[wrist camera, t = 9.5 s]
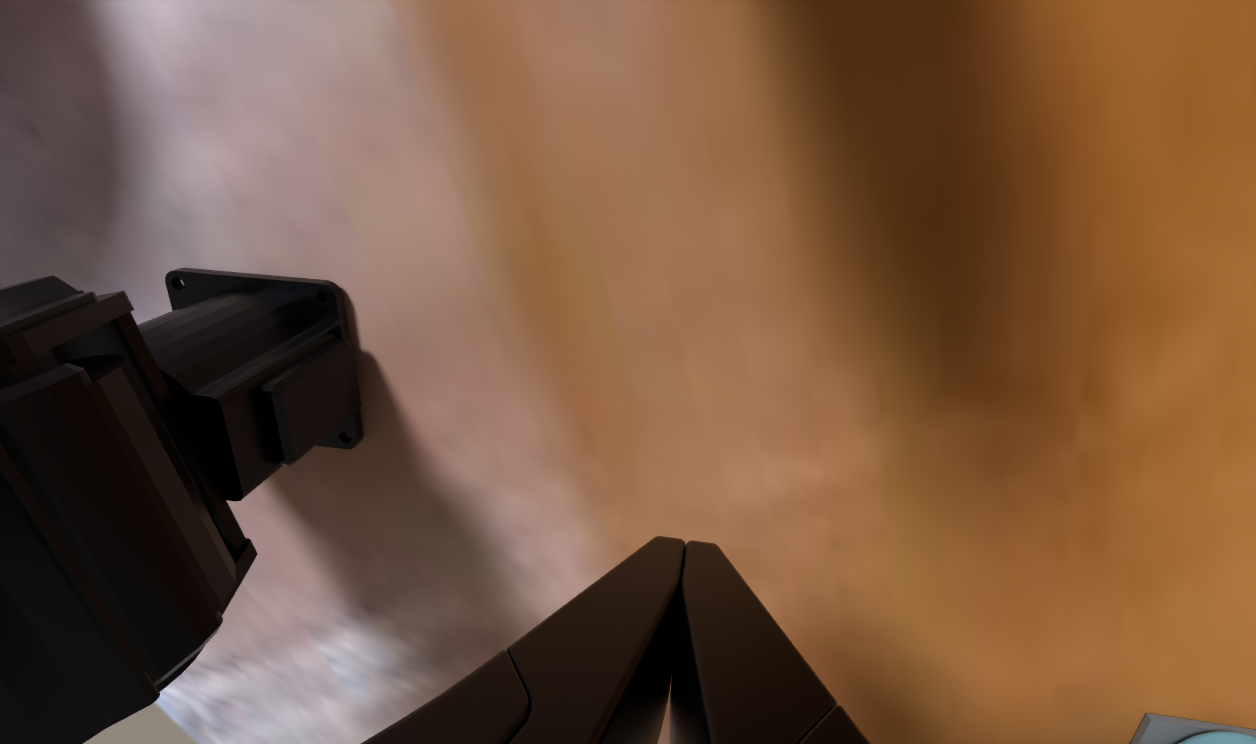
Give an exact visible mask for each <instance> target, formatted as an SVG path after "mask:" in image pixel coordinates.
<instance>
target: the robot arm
mask: <svg viewBox="0 0 1256 744" xmlns="http://www.w3.org/2000/svg"><path fill="white" fill-rule="evenodd" d="M181 280H182V281H183V282H184V284H185V286H183V285H182V283H181ZM165 282H166V287H167V291H168V294H169V298H170V302H171V306H172V310H173V311H172V312H169V313H167V314H164V315H162V316H159V317H157V318H154V319H152V320H149V321H147V322H144V323H142V324H139V325H137V324H136V322H135V320H134V318H133V316H132V314H131V312H130V311H132V310H134V309H133V307H132V305H131V303H130V301H129V299H128V297H127V295H126V293H125V291H119V292H114V293H109V294H104V295H98V296H96V295H95V293H94V292H86V293H84V292H83V290H82V291H77V290H76V289H74V288H73V287H71V286H69V285H68V284H66V283H65V282H63V281H61V280H60V279H58V278H57V277H55V276H49V277H44V278H39V279H34V280H31V281H27V282H23V283H20V284H16V285H12V286H9V287H5V288H1V289H0V744H83V743H84V742H86V741H87V740H89V739H90V738H92V737H93V736H95V735H96V734H98V733H99V732H101V731H102V730H104V729H106V728H107V727H110V726H111V725H113V724H115V723H117V722H119V721H121V720H123V719H125V718H127V717H128V716H130V715H132V714H134V713H136V712H138V711H140V710H142V709H143V708H145V707H147V706H149V705H151V704H152V703H154V702H155V701H156V700H157V699H158V697H159V696H160V693H159V692H160V691H161V690H163V689H164V688H165V687H166V686H168V685H169V684H170V683H171V682H172V681H174V680H175V679H176V678H177V677H178V676H179V675H181V674H182V673H183V672H184V671H185V670H186V669H187V667H188V666H189V665H190V664H191V663H192V662H193V661H194V660H195V659H196V657H197V656H198V655H199V653H200V652H201V650H202V649H203V648H204V646H205V644H206V643H207V642H208V641H209V640H210V639H211V638H212V637H213V636H214V635H215V634H216V633H217V631H218V629H219V627H220V626H221V624H222V622H223V617H222V615H223V613H224V612H225V610H226V608H227V606H228V605H229V603H230V601H231V599H232V598H233V596H234V594H235V592H236V591H237V589H238V587H239V586H240V584H241V582H242V580H243V579H244V577H245V575H246V573H247V572H248V570H249V568H250V566H251V565H252V563H253V561H254V560H255V558H256V556H257V552H256V550H255V548H254V546H253V544H252V542H251V540H250V539H246V538H245V536H244V534H243V532H242V530H241V528H240V526H239V524H238V522H237V520H236V518H235V516H234V514H233V512H232V511H231V509H230V507H229V505H228V503H227V501H226V500H230V501H241V500H242V499H243V498H244V497H245V496H247V495H248V494H249V493H250V492H251V491H253V490H254V489H255V488H256V487H258V486H259V485H260V484H261V483H262V482H264V481H265V480H266V479H267V478H268V477H270V476H271V475H272V474H273V473H274V472H276V471H277V470H278V469H279V468H280V467H282V466H283V465H287V466H290V465H293V464H294V463H295V462H296V461H297V460H299V459H300V458H301V457H302V456H303V455H305V454H306V453H307V452H308V451H309V450H310V449H312V448H313V447H314V446H315V445H317V446H325V447H333V448H341V449H352V448H354V447H356V446H357V445H358V444H359V443H360V442H361V441H362V439H363V429H362V423H361V416H360V409H359V408H360V406H361V402H360V395H359V388H358V382H357V375H356V368H355V361H354V354H353V348H352V345H351V344H350V341H349V335H348V328H347V321H346V314H345V308H344V301H343V295H342V292H341V290H340V288H339V287H338V286H337V285H336V284H335V283H333V282H331V281H328V280H317V279H306V278H294V277H283V276H271V275H260V274H248V273H237V272H226V271H214V270H203V269H191V268H179V269H176V270H173V271H170V272H169V273H167V275H166V277H165ZM323 291H324V292H326V293H327V294H328V296H329V298H330V300H329V301H328V300H326V299H325V298H324V296H323V294H322V293H323ZM345 432H346V433H348V434H349V435H350V436H351V438H349V437H348V436H347V435H346V434H345ZM685 547H686V549H685ZM672 668H673V669H672ZM671 677H672V680H671ZM670 685H671V692H670V744H871V743H870V742H869V741H868V739H867V738H866V737H865V736H864V735H863V733H862V732H861V731H860V730H859V728H858V727H857V726H856V724H855V723H854V722H853V720H852V719H851V718H850V717H849V715H848V714H847V713H846V711H845V710H844V709H843V707H842V706H840V705H838V704H837V701H836V700H835V699H834V697H833V696H832V695H831V693H830V692H829V691H828V689H827V688H826V687H825V686H824V684H823V683H822V682H821V680H820V679H819V678H818V676H817V675H816V674H815V672H814V671H813V670H812V668H811V667H810V666H809V665H808V663H807V662H806V661H805V659H804V658H803V657H802V655H801V654H800V653H799V651H798V650H797V649H796V648H795V646H794V645H793V644H792V642H791V641H790V640H789V638H788V637H787V636H786V634H785V633H784V632H783V630H782V629H781V628H780V627H779V625H778V624H777V623H776V621H775V620H774V619H773V617H772V616H771V615H770V613H769V612H768V611H767V609H766V608H765V607H764V606H763V604H762V603H761V602H760V600H759V599H758V598H757V596H756V595H755V594H754V592H753V591H752V590H751V589H750V587H749V586H748V585H747V583H746V582H745V581H744V579H743V578H742V577H741V575H740V574H739V573H738V571H737V570H736V569H735V568H734V566H733V565H732V564H731V562H730V561H729V560H728V558H727V557H726V556H725V554H724V553H723V552H722V550H721V549H720V548H719V547H718V546H717V545H716V544H714V543H707V542H700V541H689V542H688V543H687V544H685V542H684V541H683V540H682V539H677V538H670V537H663V536H657V537H655V538H653V539H652V540H650V541H649V542H648V543H646V544H645V545H644V546H642V547H641V548H640V549H638V550H637V551H636V552H634V553H633V554H632V555H630V556H629V557H628V558H626V559H625V560H624V561H622V562H621V563H620V564H618V565H617V566H616V567H615V568H613V569H612V570H611V571H609V572H608V573H607V574H605V575H604V576H603V577H601V578H600V579H599V580H597V581H596V582H595V583H593V584H592V585H591V586H589V587H588V588H587V589H585V590H584V591H583V592H581V593H580V594H579V595H577V596H576V597H575V598H573V599H572V600H571V601H569V602H568V603H567V604H565V605H564V606H563V607H561V608H560V609H559V610H557V611H556V612H555V613H553V614H552V615H551V616H549V617H548V618H547V619H545V620H544V621H543V622H541V623H540V624H539V625H537V626H536V627H535V628H533V629H532V630H531V631H529V632H528V633H527V634H525V635H524V636H523V637H521V638H520V639H519V640H517V641H516V642H515V643H513V644H512V645H511V646H509V647H508V648H507V650H506V651H501V652H500V653H498V654H497V655H496V656H494V657H493V658H492V659H490V660H489V661H488V662H486V663H485V664H484V665H482V666H481V667H479V668H478V669H477V670H475V671H474V672H472V673H471V674H470V675H468V676H467V677H465V678H464V679H462V680H461V681H460V682H458V683H457V684H455V685H454V686H452V687H451V688H450V689H448V690H447V691H445V692H444V693H442V694H441V695H439V696H438V697H436V698H434V699H433V700H431V701H430V702H428V703H426V704H425V705H423V706H422V707H420V708H418V709H417V710H415V711H414V712H412V713H411V714H409V715H407V716H406V717H404V718H403V719H401V720H399V721H398V722H396V723H394V724H393V725H391V726H389V727H388V728H386V729H384V730H383V731H381V732H379V733H378V734H376V735H374V736H373V737H371V738H369V739H368V740H366V741H364V742H363V743H361V744H657V743H658V739H659V736H660V732H661V728H662V724H663V720H664V716H665V712H666V707H667V703H668V698H669V691H670Z"/></svg>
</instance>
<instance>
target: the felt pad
mask: <svg viewBox="0 0 1256 744" xmlns="http://www.w3.org/2000/svg"><path fill="white" fill-rule="evenodd" d="M1214 731H1233V732H1240V733H1244V734H1248V735H1251V736H1254V737H1256V730H1253V729H1246V728H1240V727H1233V726H1227V725H1220V724H1214V723H1207V722H1201V721H1194V720H1188V719H1181V718H1175V717H1168V716H1162V715H1155V714H1149V713H1146V715H1145V717H1144V719H1143V721H1142V723H1141V724H1140V726H1139V728H1138V730H1137V732H1136V734H1135V736H1134V738H1133V740H1132V742H1131V744H1178V743H1180V742H1182V741H1184V740H1186V739H1188V738H1190V737H1193V736H1195V735H1199V734H1202V733H1207V732H1214Z"/></svg>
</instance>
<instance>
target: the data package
mask: <svg viewBox="0 0 1256 744" xmlns="http://www.w3.org/2000/svg"><path fill="white" fill-rule="evenodd" d="M1178 744H1256V737H1254V736H1251V735H1248V734H1244V733H1240V732H1233V731H1214V732H1207V733H1202V734H1199V735H1195V736H1193V737H1190V738H1188V739H1186V740H1184V741H1182V742H1180V743H1178Z"/></svg>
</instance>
